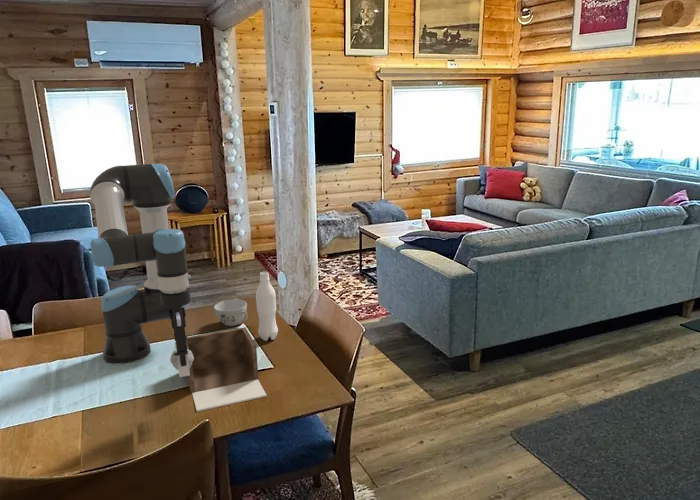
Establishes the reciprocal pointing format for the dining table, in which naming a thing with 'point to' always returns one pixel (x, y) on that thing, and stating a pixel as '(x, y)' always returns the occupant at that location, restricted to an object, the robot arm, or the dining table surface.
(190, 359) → the white sculpted head
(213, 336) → the crate
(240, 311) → the teacup
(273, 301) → the water bottle
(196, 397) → the panel
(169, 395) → the dining table surface
